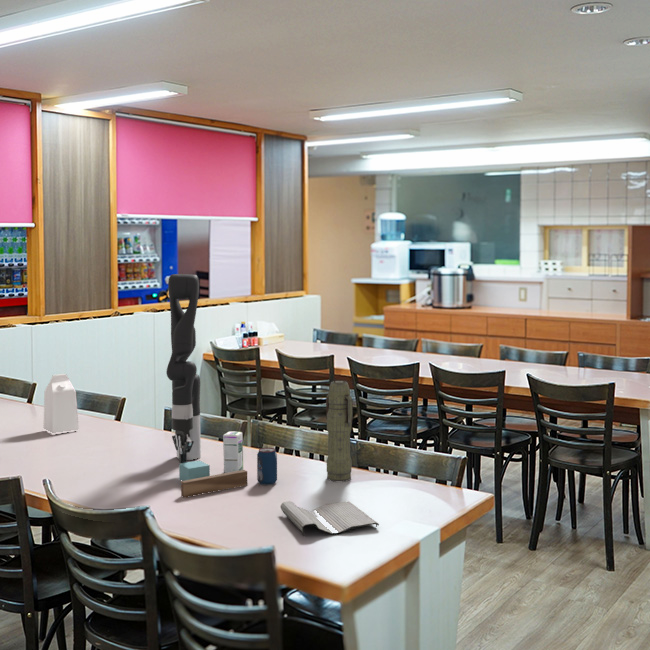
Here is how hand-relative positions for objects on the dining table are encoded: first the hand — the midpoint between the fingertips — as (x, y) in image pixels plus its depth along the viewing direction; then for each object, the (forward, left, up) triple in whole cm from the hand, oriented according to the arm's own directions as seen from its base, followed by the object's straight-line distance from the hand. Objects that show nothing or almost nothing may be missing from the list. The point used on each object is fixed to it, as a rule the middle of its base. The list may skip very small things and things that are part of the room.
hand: (183, 463), depth 286 cm
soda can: (+27, +19, -5) cm, 33 cm away
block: (+9, 0, -5) cm, 10 cm away
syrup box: (+7, +17, -5) cm, 19 cm away
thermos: (+37, +43, -5) cm, 57 cm away
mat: (+72, +12, -5) cm, 73 cm away
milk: (-98, -12, -5) cm, 99 cm away
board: (+24, 0, -4) cm, 24 cm away
